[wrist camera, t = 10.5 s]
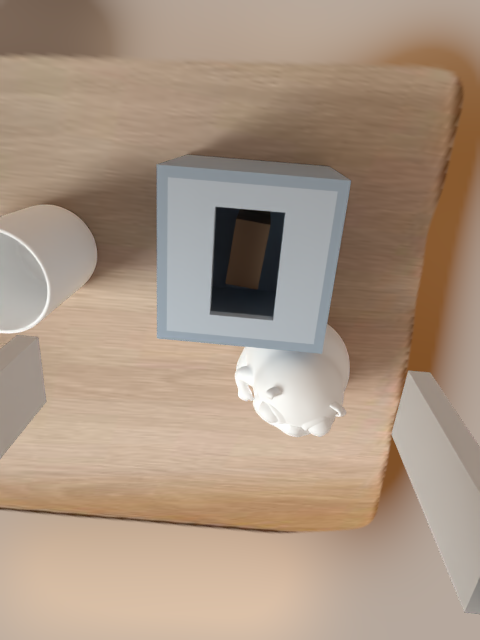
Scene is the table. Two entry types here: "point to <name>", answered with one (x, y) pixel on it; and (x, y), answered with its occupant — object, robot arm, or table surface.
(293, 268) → the coin box
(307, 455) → the table surface
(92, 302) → the table surface
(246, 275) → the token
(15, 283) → the cup
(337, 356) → the figurine
